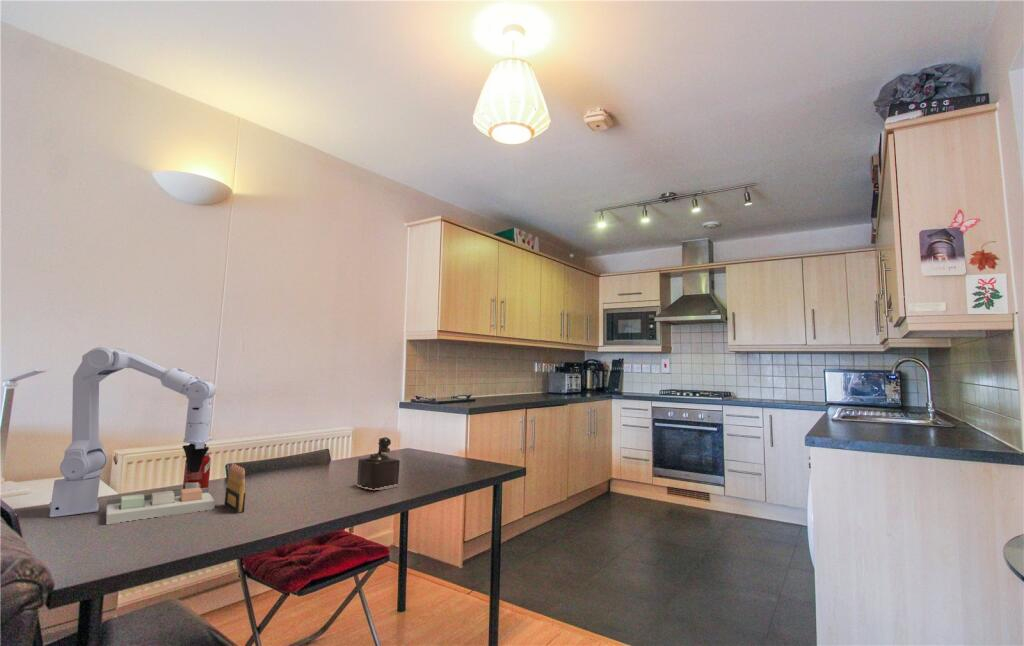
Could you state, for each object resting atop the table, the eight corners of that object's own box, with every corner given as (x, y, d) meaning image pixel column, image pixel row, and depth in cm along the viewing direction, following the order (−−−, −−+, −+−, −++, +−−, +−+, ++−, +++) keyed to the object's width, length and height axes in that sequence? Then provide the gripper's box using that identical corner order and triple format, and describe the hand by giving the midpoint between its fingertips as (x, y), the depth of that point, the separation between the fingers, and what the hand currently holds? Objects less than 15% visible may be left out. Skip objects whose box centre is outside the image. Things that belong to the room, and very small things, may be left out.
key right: (181, 505, 130) (182, 493, 131) (179, 501, 134) (180, 489, 134) (201, 502, 133) (202, 490, 134) (198, 498, 137) (199, 487, 137)
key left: (120, 513, 122) (122, 500, 122) (119, 508, 125) (121, 496, 126) (143, 510, 125) (144, 497, 125) (141, 506, 128) (143, 493, 129)
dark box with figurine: (354, 486, 162) (357, 433, 164) (381, 482, 171) (384, 431, 173) (379, 495, 152) (383, 438, 154) (408, 489, 161) (410, 436, 163)
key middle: (152, 508, 126) (153, 496, 126) (150, 504, 130) (151, 492, 130) (173, 506, 129) (174, 494, 130) (171, 502, 133) (172, 490, 133)
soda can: (198, 496, 145) (202, 456, 146) (176, 495, 145) (180, 455, 146) (212, 490, 152) (216, 452, 153) (192, 489, 152) (195, 451, 153)
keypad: (106, 524, 117) (108, 509, 118) (105, 513, 126) (107, 499, 127) (214, 509, 132) (215, 496, 133) (206, 499, 141) (208, 487, 142)
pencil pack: (244, 512, 131) (248, 467, 132) (236, 513, 129) (240, 468, 131) (231, 504, 138) (235, 462, 139) (224, 505, 137) (228, 462, 138)
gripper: (219, 424, 133) (214, 474, 132) (209, 419, 144) (205, 465, 143) (189, 425, 129) (183, 477, 127) (181, 420, 139) (177, 468, 138)
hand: (193, 471), depth 135 cm, fingers open, 3 cm apart
